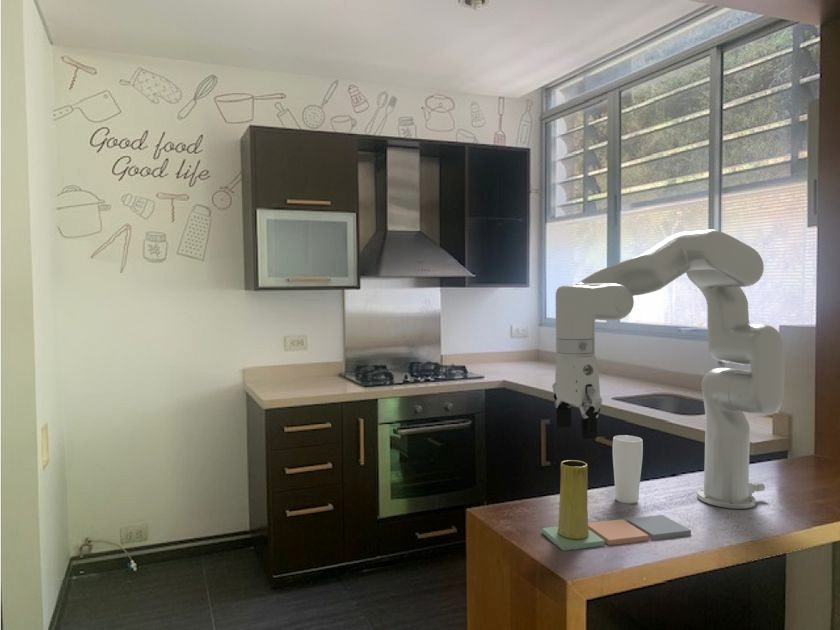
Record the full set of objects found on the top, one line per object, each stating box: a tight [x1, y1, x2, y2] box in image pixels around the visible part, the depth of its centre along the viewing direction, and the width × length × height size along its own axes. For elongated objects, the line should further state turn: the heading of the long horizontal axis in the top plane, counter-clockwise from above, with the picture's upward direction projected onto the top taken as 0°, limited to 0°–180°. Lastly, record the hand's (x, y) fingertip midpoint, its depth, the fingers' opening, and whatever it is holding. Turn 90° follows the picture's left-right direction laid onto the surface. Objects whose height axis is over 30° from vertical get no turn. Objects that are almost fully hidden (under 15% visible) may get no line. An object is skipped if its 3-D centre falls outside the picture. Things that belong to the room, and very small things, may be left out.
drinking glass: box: [612, 434, 644, 505], centre depth 147 cm, size 7×7×15 cm
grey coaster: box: [626, 514, 692, 540], centre depth 130 cm, size 9×9×1 cm
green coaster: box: [541, 525, 606, 551], centre depth 124 cm, size 9×9×1 cm
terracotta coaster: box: [588, 518, 650, 546], centre depth 127 cm, size 9×9×1 cm
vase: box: [557, 459, 589, 539], centre depth 124 cm, size 6×6×14 cm
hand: (575, 432), depth 124 cm, fingers open, 9 cm apart
